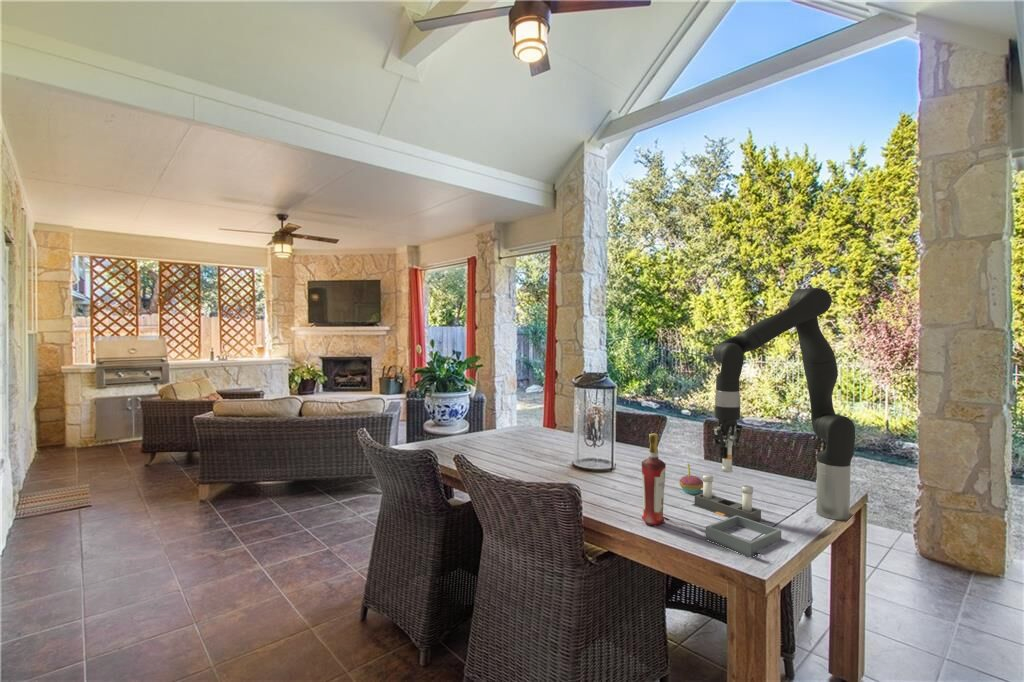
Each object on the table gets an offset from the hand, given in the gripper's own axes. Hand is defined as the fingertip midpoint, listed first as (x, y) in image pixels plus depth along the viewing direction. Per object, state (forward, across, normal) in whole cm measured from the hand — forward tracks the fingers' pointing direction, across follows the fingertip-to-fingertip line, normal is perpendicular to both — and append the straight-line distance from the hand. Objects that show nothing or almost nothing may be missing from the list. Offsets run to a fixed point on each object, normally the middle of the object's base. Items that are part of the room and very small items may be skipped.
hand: (727, 457), depth 161 cm
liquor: (+20, -24, +10) cm, 33 cm away
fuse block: (+20, 0, 0) cm, 20 cm away
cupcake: (+20, +8, +19) cm, 29 cm away
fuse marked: (+5, 0, 0) cm, 5 cm away
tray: (+19, -14, -14) cm, 28 cm away
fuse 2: (+18, 0, -7) cm, 19 cm away
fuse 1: (+18, 0, +7) cm, 19 cm away
